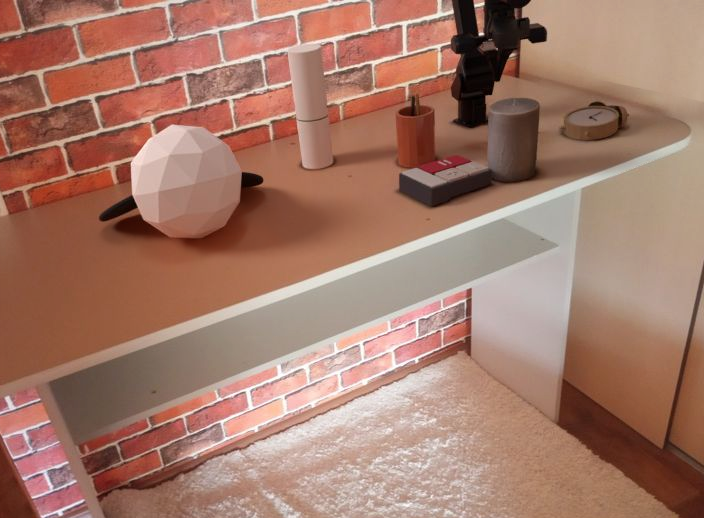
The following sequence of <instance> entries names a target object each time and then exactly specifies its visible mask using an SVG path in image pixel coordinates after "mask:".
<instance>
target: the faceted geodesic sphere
mask: <svg viewBox="0 0 704 518" xmlns="http://www.w3.org/2000/svg"><path fill="white" fill-rule="evenodd" d="M130 178H131V180H130V181H131V195H128V196H127V197H125V198H123V199H121V200H119V201H118V202H116V203H114V204H112V205H111V206H109V207H108V208H106V209H105V210H104V211H102V212H101V213H100V214H99V216H98V220H99V221H100V222H102V223H103V222H108V221H111V220H114V219H117V218H119V217H122V216H124V215H126V214H128V213H130V212H133V211H134V210H136V209H138V211H139V214H140V215H141V218H142V220H143V221H145V222H146V223H147V224H150V226H152V227H154V228H155V229H157V230H158V231H159V232H161V233H163V234H164V235H166V236H167V237H169V238H176V239H177V238H179V239H202V238H204V237H207V236H208V235H210V234H212V233H214V232H216V231H218V230H220V229H221V228H223V227H225V226H226V225H227V223H228V221H229V220H230V218H231V216H232V215H233V214H234V211H235V210H236V208H238V207H237V206H239V204H240V202H241V189H245V188H246V189H247V188H253V187H257V186H258V187H259V186H260V185H262V184H263V183H264V180H265V179H264V177H263V176H261V175H260V174H258V173H253V172H246V171H242V168H241V167H240V164H239V163H238V160H237V159H236V157H235V154H234V152H233V151H232V149H231V147H230V145H228V144H227V143H226V142H225V141H223V140H221V139H220V138H219V137H218V136H217V135H215V134H213V133H212V132H211V131H210V130H208V129H207V128H206V127H204V126H195V125H181V124H170V125H169V126H167V127H166V128H164V129H162V130H160V131H159V132H158V133H156V134H155V135H153V136H152V137H150V138H148V139H147V141H146V142H145V143H144V144H143V146H142V147H141V149H140V150H139V151H138V152H137V154H136V155H135V156H134V158H133V159H132V160H131V162H130Z"/></svg>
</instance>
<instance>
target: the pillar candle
mask: <svg viewBox="0 0 704 518" xmlns="http://www.w3.org/2000/svg"><path fill="white" fill-rule="evenodd" d="M487 109H488V112H487V113H488V116H487V118H488V122H487V125H488V126H487V158H486V159H487V164H486V166H487V167H489V169H490V170H492V179H493V180H495V181H498V182H504V183H512V182H520V181H524V180H527V179H530V178H533V177H534V176H535V175H536V173H537V170H536V168H537V167H536V166H537V160H538V140H539V129H540V112H541V111H540V109H541V104H540V102H539V101H537V99H532V98H529V97H508V98H501V99H499V100H496V101H493V102H492V103H490V104H489V105H488V107H487Z"/></svg>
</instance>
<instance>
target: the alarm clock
mask: <svg viewBox="0 0 704 518" xmlns="http://www.w3.org/2000/svg"><path fill="white" fill-rule="evenodd" d="M629 117H630V114H629V113H628V111H627V109H626V107H624V106H622V105H615V104H614V105H613V104H611V105H610V104H609V105H607V104H606V103H605V102H603V101H601V100H600V101H599V100H596V101H595V100H594V101H593V102H590V103H589V104H588V105H587V106H582V107H578V108H575V109H572V110H570V111H568V112H567V113H565V115H564V116H563V125H562V126H559V128H558V129H559V130H563V134H564V135H565V136H566V137H568V138H570V139H573V140H577V141H578V140H579V141H581V140H582V141H592V140H599V139H605V138H607V137H610V136H612V135H614V134H615V133H617V132H618V129H620V128H622V127H624V126H625V125H626V124H627V122H628V118H629Z"/></svg>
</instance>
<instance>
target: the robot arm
mask: <svg viewBox="0 0 704 518" xmlns="http://www.w3.org/2000/svg"><path fill="white" fill-rule="evenodd" d="M531 1H532V0H483V5H484V6H483V9H482V11H483V28H482V34H483V35H480V33H479V27H478V26H479V25H478V21H477V20H478V19H477V13H476V7H475V2H474V0H451V4H452V10H453V17H454V23H455V29H456V34H454V35H452V37H451V38H450V51H452V52H453V54H455V55H460V56H459V60H458V62H457V64H456V67H455V76H454V79H453V80H452V83H451V86H450V94H451V97H452V98H453V99H454V100H456V101H457V118H454V119H453V120H452V122H453V123H455V124H458V125H461V126H464V127H466V128H473V127H476V126H479V125H481V124H484V123H488V116H487V102H486V101H487V100H486V98H487V97H486V96H493V93H494V89H495V83H500V82H501V80H502V76H503V73H504V70H505V68H506V65H507V63H508V61H509V58H510V56H511V55H512V53H514V52H515V51H518V50H519V45H520V41H522V40H523V41H524V40H528V42H530V43H531V44H532V45H533V44H534V45H535V44H539V43H546V42H547V41H548V30H547V28H546V27H545V25H542V24H540V23H539V22H534V23H531V20H530V17H529V16H525V17H524V16H523V17H520V18H517V17H516V10H515V9H523V8H524V7H526V6H528V5H529V4H530V2H531ZM516 18H517V19H516Z"/></svg>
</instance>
